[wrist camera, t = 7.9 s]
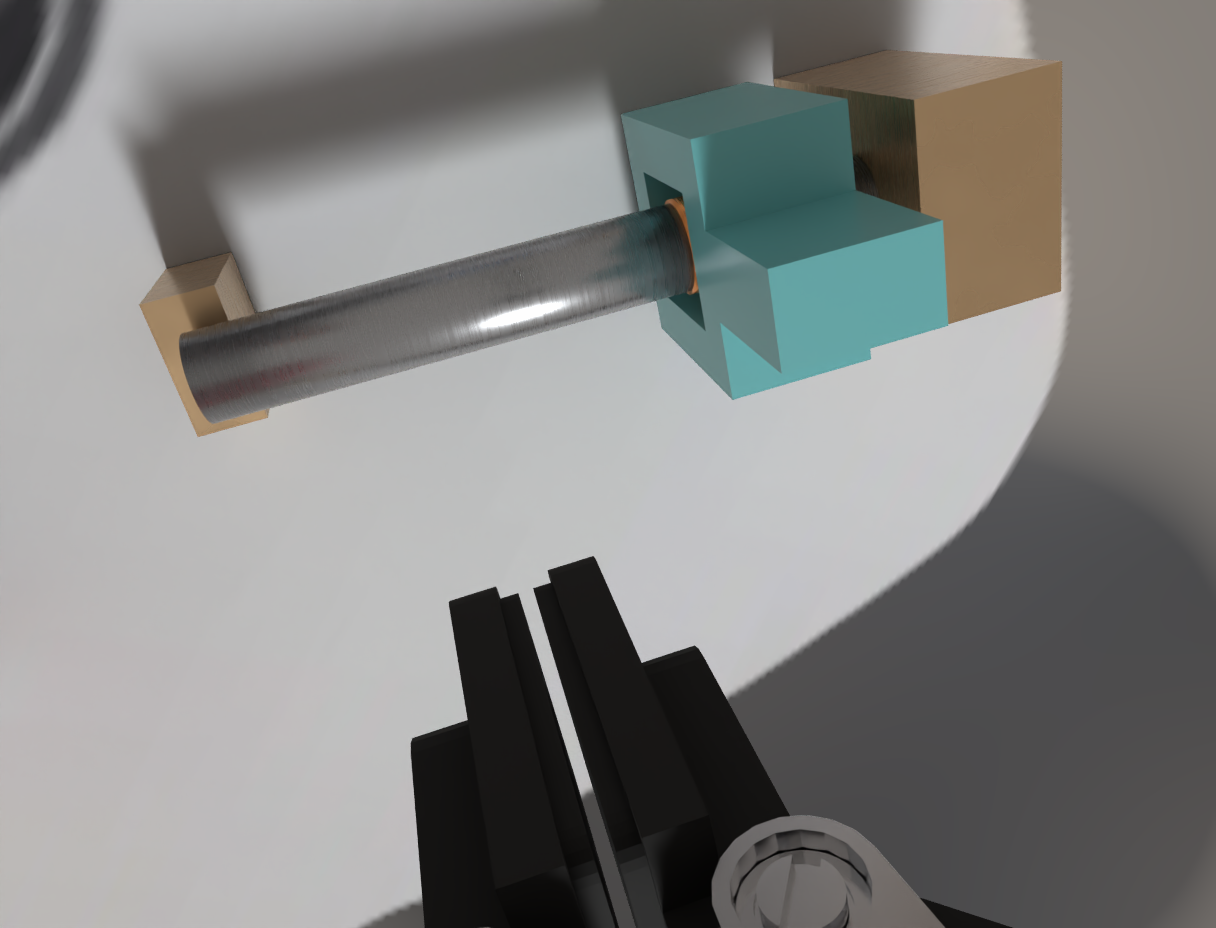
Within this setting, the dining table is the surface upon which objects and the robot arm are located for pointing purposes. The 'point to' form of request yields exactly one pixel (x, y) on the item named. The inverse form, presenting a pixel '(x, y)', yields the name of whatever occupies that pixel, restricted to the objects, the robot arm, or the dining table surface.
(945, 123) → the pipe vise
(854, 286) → the collar
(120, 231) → the dining table surface
